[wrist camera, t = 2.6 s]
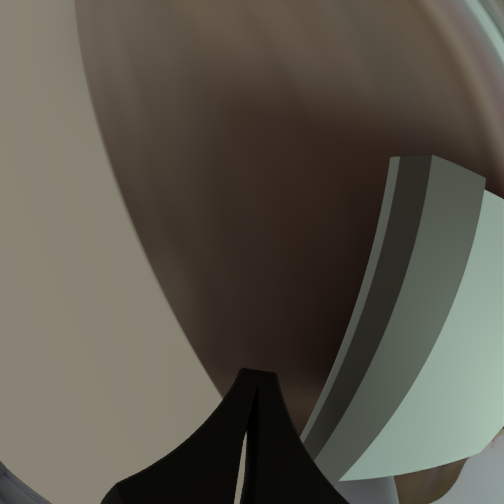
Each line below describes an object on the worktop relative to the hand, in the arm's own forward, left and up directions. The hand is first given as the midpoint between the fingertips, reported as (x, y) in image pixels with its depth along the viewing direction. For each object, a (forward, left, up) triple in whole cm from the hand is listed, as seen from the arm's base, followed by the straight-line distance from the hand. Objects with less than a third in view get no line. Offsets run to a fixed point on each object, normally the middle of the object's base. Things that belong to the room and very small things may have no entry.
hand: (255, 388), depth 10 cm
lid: (0, -12, -1) cm, 12 cm away
